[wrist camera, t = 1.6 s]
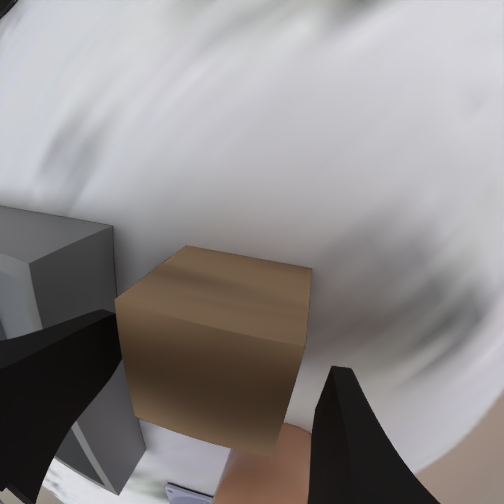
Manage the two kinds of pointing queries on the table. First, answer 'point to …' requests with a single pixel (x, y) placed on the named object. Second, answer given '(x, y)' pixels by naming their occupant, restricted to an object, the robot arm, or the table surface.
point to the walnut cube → (215, 345)
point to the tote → (65, 308)
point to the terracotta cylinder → (268, 472)
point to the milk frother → (5, 6)
